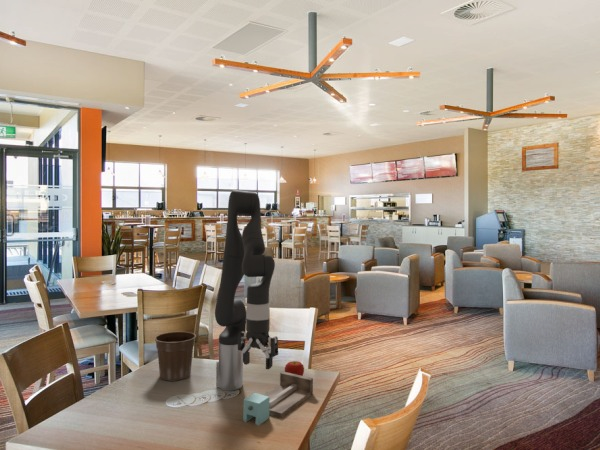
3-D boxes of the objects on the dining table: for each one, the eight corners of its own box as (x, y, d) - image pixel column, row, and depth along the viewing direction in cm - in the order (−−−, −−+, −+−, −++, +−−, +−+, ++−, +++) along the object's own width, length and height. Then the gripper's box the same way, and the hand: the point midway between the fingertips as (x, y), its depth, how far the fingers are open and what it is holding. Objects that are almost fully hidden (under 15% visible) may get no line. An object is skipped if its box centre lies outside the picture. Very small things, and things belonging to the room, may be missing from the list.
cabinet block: (242, 421, 142) (242, 400, 141) (254, 413, 148) (254, 392, 147) (257, 426, 139) (257, 404, 139) (269, 417, 145) (269, 396, 144)
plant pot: (159, 368, 187) (159, 331, 187) (197, 368, 189) (198, 330, 189) (150, 383, 171) (150, 342, 171) (192, 382, 173) (193, 341, 172)
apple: (294, 375, 182) (294, 356, 182) (308, 380, 177) (308, 361, 177) (280, 380, 177) (280, 361, 177) (294, 385, 171) (294, 366, 171)
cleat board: (249, 408, 151) (249, 391, 151) (282, 386, 170) (283, 371, 170) (281, 417, 145) (281, 399, 144) (312, 394, 164) (312, 378, 164)
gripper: (233, 316, 143) (232, 365, 143) (270, 321, 136) (269, 374, 136) (246, 311, 149) (246, 359, 150) (282, 316, 142) (282, 366, 143)
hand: (257, 366), depth 143 cm, fingers open, 8 cm apart
